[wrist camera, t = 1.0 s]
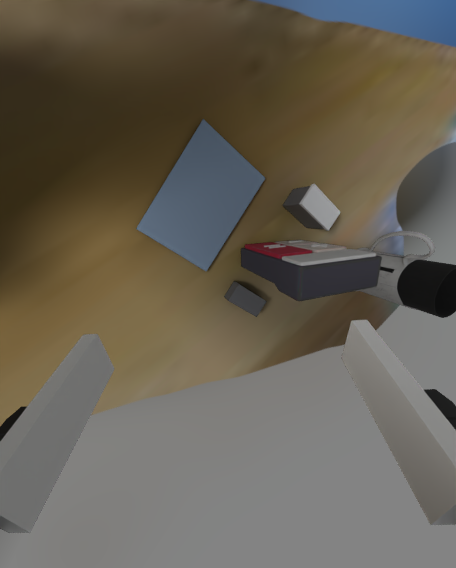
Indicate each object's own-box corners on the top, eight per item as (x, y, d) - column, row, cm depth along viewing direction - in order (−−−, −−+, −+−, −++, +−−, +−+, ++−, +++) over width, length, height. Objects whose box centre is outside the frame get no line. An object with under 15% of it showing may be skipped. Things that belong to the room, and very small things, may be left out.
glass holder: (350, 299, 46) (436, 333, 33) (325, 243, 41) (417, 256, 27) (381, 272, 47) (476, 295, 34) (360, 214, 41) (466, 212, 28)
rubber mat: (136, 228, 30) (136, 228, 29) (202, 120, 29) (203, 118, 28) (205, 270, 34) (206, 271, 34) (263, 178, 34) (265, 178, 33)
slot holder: (223, 296, 36) (234, 307, 32) (292, 187, 35) (314, 183, 31) (252, 312, 39) (266, 325, 35) (317, 212, 38) (340, 212, 34)
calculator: (299, 237, 38) (385, 249, 25) (298, 262, 40) (379, 286, 26) (239, 243, 35) (300, 259, 21) (240, 270, 36) (298, 302, 23)
